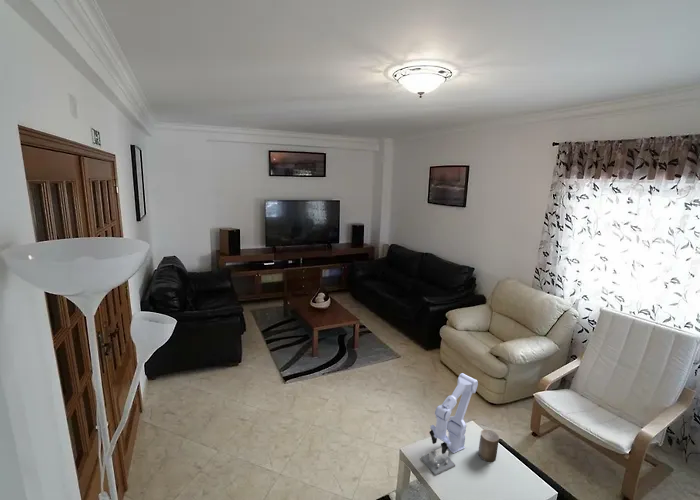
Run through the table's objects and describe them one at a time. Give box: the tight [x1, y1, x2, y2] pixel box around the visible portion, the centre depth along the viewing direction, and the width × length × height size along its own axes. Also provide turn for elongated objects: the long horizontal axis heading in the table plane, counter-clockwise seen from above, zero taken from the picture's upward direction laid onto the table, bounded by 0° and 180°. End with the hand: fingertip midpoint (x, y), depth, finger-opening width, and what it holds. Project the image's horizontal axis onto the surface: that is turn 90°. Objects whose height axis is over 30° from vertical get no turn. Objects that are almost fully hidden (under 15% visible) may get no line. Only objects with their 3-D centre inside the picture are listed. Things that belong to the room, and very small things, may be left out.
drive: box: [428, 446, 450, 467], centre depth 193 cm, size 10×4×6 cm, turn 117°
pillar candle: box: [477, 428, 500, 463], centre depth 198 cm, size 10×10×15 cm
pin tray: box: [420, 453, 456, 476], centre depth 193 cm, size 14×12×3 cm
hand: (438, 448), depth 192 cm, fingers open, 7 cm apart
